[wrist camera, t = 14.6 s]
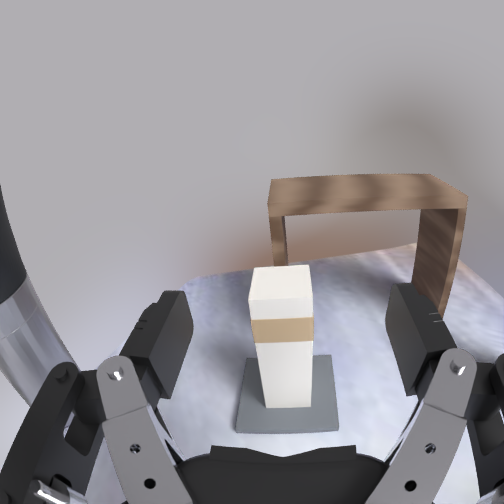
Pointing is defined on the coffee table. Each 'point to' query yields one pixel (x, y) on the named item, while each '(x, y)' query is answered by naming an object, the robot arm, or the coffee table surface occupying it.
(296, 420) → the mat
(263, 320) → the carton
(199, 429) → the coffee table surface
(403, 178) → the shelf bay
